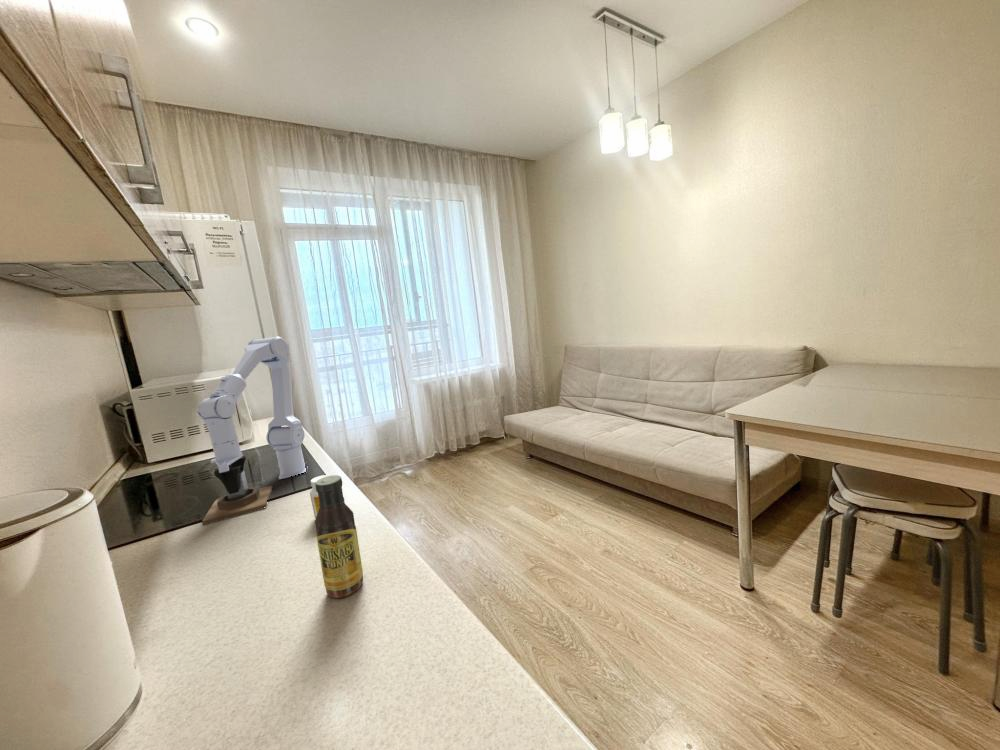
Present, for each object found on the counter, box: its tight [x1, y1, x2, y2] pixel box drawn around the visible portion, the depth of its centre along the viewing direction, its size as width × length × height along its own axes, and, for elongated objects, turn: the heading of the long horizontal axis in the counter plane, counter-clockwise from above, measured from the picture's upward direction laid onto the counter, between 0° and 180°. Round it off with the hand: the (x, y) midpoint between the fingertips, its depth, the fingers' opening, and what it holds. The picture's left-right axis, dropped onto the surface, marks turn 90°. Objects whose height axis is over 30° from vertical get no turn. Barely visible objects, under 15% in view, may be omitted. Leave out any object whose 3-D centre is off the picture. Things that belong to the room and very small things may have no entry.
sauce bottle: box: [314, 474, 364, 599], centre depth 66 cm, size 7×6×20 cm
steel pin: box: [225, 469, 250, 502], centre depth 106 cm, size 4×4×8 cm
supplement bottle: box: [309, 474, 328, 520], centre depth 94 cm, size 5×5×10 cm
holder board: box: [201, 484, 274, 526], centre depth 107 cm, size 14×14×3 cm
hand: (236, 488), depth 106 cm, fingers open, 6 cm apart
